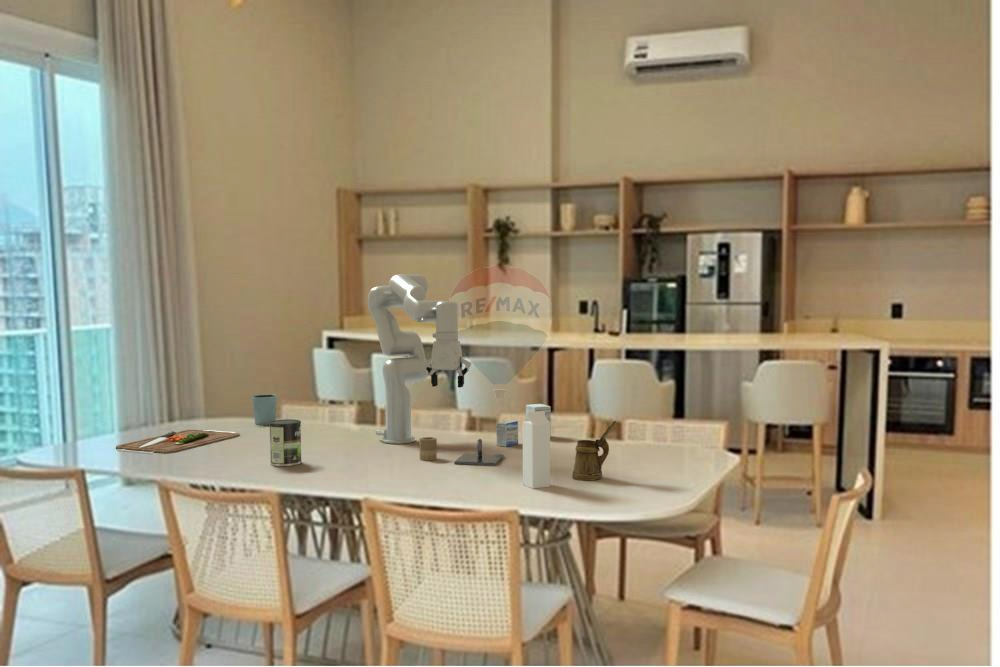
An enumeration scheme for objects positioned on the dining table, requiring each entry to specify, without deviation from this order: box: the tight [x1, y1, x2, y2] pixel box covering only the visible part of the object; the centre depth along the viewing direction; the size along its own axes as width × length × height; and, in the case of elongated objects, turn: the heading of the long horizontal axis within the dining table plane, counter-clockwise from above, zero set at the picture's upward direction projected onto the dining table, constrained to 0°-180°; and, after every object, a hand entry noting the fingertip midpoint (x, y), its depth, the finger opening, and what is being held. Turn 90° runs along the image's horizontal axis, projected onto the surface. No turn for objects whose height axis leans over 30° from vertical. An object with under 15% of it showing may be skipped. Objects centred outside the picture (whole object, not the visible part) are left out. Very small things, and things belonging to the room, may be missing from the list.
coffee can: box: [269, 418, 302, 467], centre depth 285 cm, size 10×10×14 cm
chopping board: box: [115, 429, 241, 455], centre depth 325 cm, size 45×27×3 cm, turn 158°
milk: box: [522, 411, 551, 490], centre depth 251 cm, size 6×6×22 cm
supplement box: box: [525, 403, 552, 439], centre depth 331 cm, size 7×7×13 cm
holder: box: [454, 438, 505, 467], centre depth 288 cm, size 14×14×7 cm
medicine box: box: [495, 419, 519, 448], centre depth 316 cm, size 8×4×9 cm, turn 143°
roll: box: [418, 436, 438, 462], centre depth 291 cm, size 6×6×7 cm
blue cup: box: [251, 393, 277, 426], centre depth 368 cm, size 10×10×12 cm
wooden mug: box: [571, 420, 617, 482], centre depth 261 cm, size 9×14×18 cm, turn 71°
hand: (447, 386), depth 295 cm, fingers open, 9 cm apart
